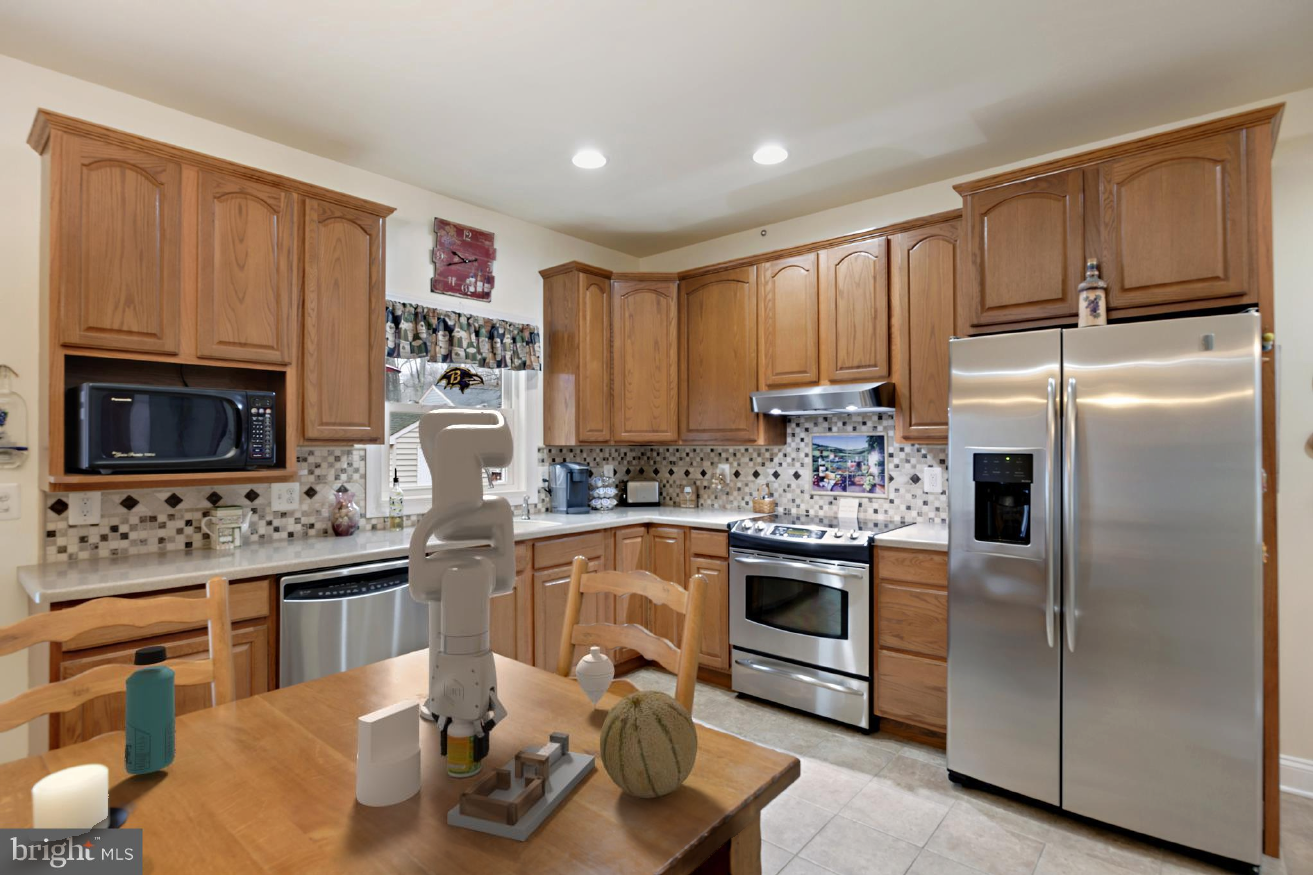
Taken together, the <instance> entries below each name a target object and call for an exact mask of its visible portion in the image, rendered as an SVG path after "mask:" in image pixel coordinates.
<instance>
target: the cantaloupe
mask: <svg viewBox="0 0 1313 875" xmlns="http://www.w3.org/2000/svg"><path fill="white" fill-rule="evenodd" d="M698 743H699V742H698V734H697V730H696V725H695V722H694V721H693V719H692V716H691V714H690V713H689V711H688V710H687V708H685V706H684V705H683V704H682V703H681V702H680V701H678V700H677V699H676V698H674V697H672V695H669V694H668V693H665V692H664V691H661V690H653V689H652V690H641V691H639V690H638V691H636V692H634V693H631V694H629V695H627V696H625V697H624V698H622V699H621V700H619V701H618V702H616V703H615V704H614V705H613V706H612V707H611V708H610V710H608V713H607V715H606V717H605V720H604V722H603V725H602V727H601V730H600V737H599V752H600V759H601V762H602V765H603V768H604V769H605V772H606V773H607V775H608V777H610V779H611V781H612V782H613V783H614V784H615V785H616V786H617V787H618V788H620V790H622V791H623V792H624V793H626V794H628V795H630V796H634V797H639V798H644V799H651V798H656V797H659V796H660V797H661V796H664V795H668V794H670V793H671V792H672V791H674V790H675V789H677V788H678V787H680V786H681V785H682V784H683V783H684V782H685V781H686V780H687V779H688V777H689V776H690V775H691V773H692V769H693V768H694V766H695V763H696V758H697V753H698V746H699V744H698Z"/></svg>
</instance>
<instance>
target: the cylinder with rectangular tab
mask: <svg viewBox="0 0 1313 875" xmlns="http://www.w3.org/2000/svg"><path fill="white" fill-rule="evenodd" d="M357 722H358V723H357V724H358V725H357V738H358V739H357V755H356V793H355V794H356V795H355V796H356V797H355V798H356V799H357V802H358V803H360V804H361V805H365V806H368V807H375V808H376V807H386V806H392V805H395V804H400V803H402V802H404V801H407V800H409V799H411V798H412V797H413V796H415V795H417V793H418V792H419V791H420V789H421V783H422V782H421V781H422V780H421V776H422V775H421V773H422V772H421V771H422V770H421V769H422V765H421V764H422V763H421V762H422V760H421V759H422V758H421V757H422V747H421V746H422V745H421V743H420V702H419V701H416V700H414V699H413V700H412V699H405V700H402V701H400V702H397V703H394V704H391V705H389V706H386V707H384V708H380V709H378V710H376V711H373V712H370V713H368V714H364V715H362V716H359V717H358V720H357Z"/></svg>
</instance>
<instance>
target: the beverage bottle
mask: <svg viewBox="0 0 1313 875" xmlns="http://www.w3.org/2000/svg"><path fill="white" fill-rule="evenodd" d="M167 659H168V655H167V648H166V646H164V645H152V646H146V647H141V648H140V649H137V650H136V651H135V653H134V660H133V665H135V666H146V667H143V668H140V669H137V670H135V671H133V673H131V674H130V675H129V676H128V677H127V678H126V680H125V710H124V711H125V712H124V714H125V715H124V720H125V726H124V731H123V732H124V735H123V736H124V739H125V744H124V761H123V762H124V763H123V764H124V769H125V771H126V773H127V774H130V775H143V774H144V775H145V774H150V773H153V772H157V771H160V770H163V769H164V768H166V767H168V766H170V765H172V764H173V763H174V760H175V758H176V751H177V748H176V735H177V730H176V724H177V723H176V722H177V721H176V720H177V718H176V715H177V714H176V708H177V707H176V703H175V701H176V700H175V699H176V698H175V697H176V696H175V688H176V687H175V684H176V683H175V676H176V672H175V670H174V669H173V668H170V667H169V666H167V665H156V664H160V663H163V662H165V661H167ZM150 665H152V666H150ZM147 666H148V667H147Z"/></svg>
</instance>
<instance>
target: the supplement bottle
mask: <svg viewBox="0 0 1313 875" xmlns="http://www.w3.org/2000/svg"><path fill="white" fill-rule="evenodd" d="M452 721H453V722H452V723H450V725H449V726H448V730H447V755H446V770H447V771H446V772H447V774H448V775H449V776H450V777H453V778H458V779H459V778H468V777H472V776H474V775H476V774H479V772H480V771H481V770H482V767H483V759H482V760H481V761H479V762H478V763H476V762H474V761H473V739H474V737H475V736H477V733H476V730H475V726H474V722H473V721H470V720H464V719H457V718H452Z"/></svg>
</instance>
